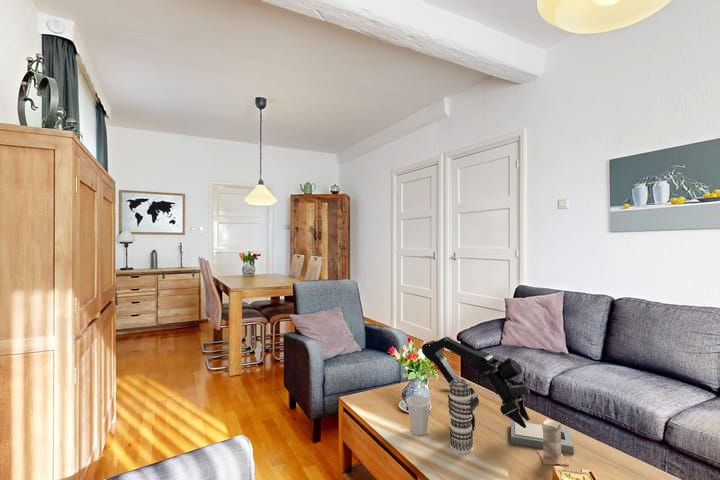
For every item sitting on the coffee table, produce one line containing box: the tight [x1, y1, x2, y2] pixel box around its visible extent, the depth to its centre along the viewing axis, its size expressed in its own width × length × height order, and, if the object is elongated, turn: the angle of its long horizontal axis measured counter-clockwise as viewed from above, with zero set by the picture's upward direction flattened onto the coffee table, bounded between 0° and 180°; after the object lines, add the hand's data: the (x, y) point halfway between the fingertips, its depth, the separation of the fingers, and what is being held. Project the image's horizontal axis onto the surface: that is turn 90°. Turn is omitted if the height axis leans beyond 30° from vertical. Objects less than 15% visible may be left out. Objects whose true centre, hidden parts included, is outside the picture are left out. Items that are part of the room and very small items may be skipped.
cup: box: [405, 395, 432, 436], centre depth 152 cm, size 10×10×13 cm
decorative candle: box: [447, 378, 474, 455], centre depth 141 cm, size 9×9×25 cm
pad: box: [536, 449, 570, 466], centre depth 132 cm, size 8×8×1 cm
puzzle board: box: [510, 419, 575, 454], centre depth 145 cm, size 21×14×3 cm, turn 68°
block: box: [542, 418, 562, 462], centre depth 132 cm, size 4×4×12 cm
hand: (527, 423), depth 139 cm, fingers open, 9 cm apart
